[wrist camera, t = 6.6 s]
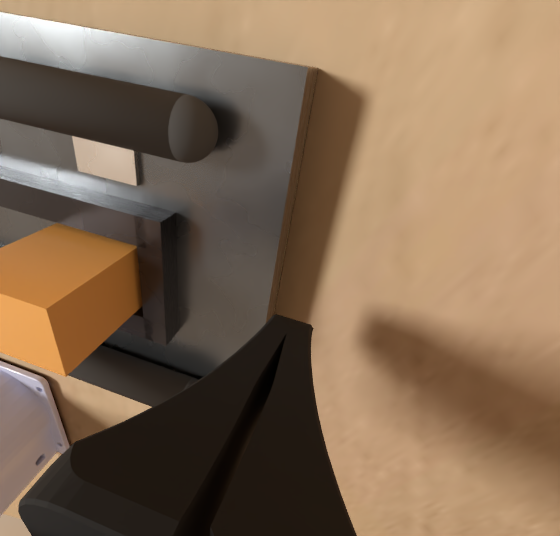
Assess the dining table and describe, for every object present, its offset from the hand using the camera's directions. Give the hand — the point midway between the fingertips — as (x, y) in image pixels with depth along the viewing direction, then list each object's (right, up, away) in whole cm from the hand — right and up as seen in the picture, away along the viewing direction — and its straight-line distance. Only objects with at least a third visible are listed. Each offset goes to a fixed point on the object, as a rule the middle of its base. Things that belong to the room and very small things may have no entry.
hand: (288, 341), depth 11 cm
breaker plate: (-12, +5, +5) cm, 14 cm away
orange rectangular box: (-7, +3, +3) cm, 8 cm away
